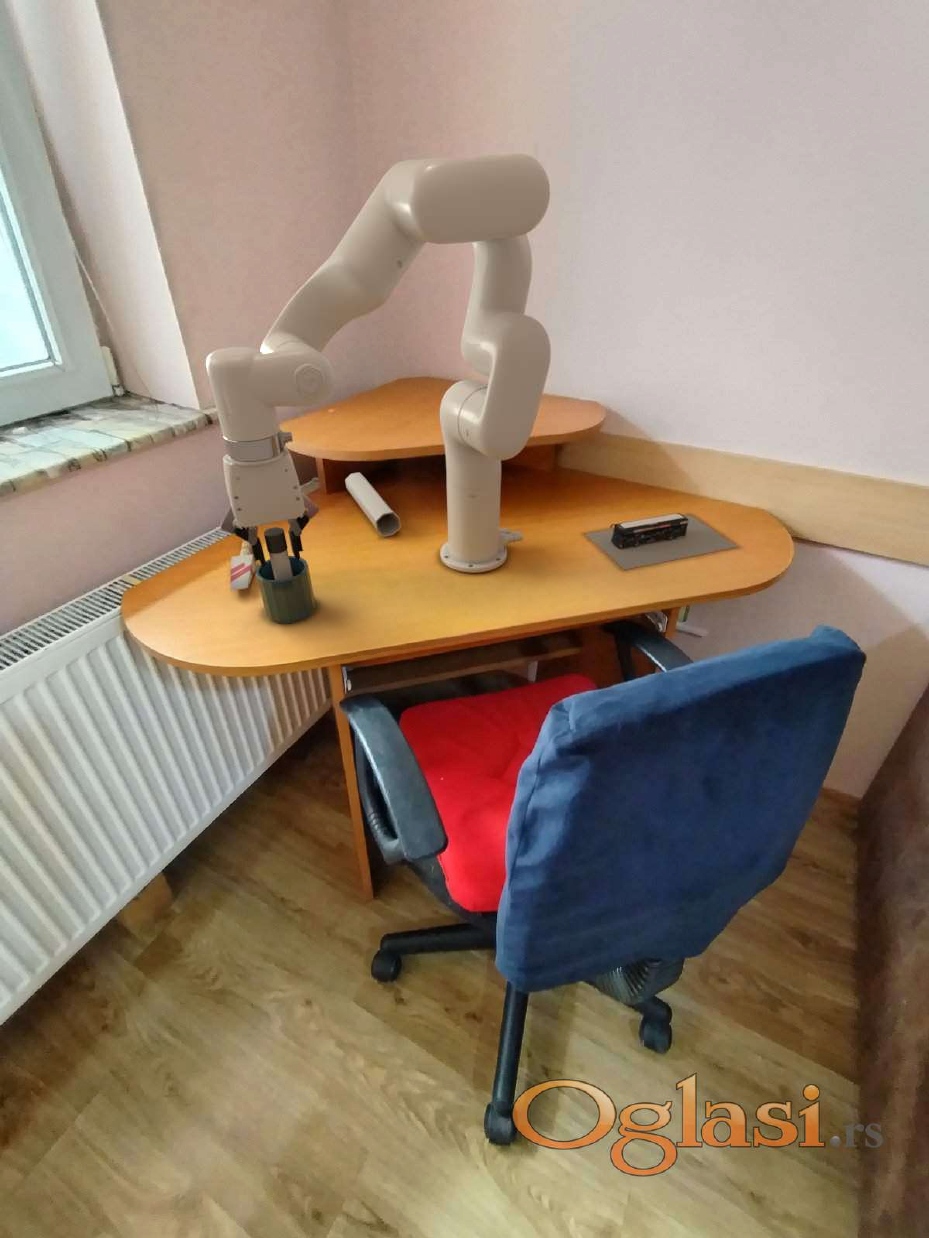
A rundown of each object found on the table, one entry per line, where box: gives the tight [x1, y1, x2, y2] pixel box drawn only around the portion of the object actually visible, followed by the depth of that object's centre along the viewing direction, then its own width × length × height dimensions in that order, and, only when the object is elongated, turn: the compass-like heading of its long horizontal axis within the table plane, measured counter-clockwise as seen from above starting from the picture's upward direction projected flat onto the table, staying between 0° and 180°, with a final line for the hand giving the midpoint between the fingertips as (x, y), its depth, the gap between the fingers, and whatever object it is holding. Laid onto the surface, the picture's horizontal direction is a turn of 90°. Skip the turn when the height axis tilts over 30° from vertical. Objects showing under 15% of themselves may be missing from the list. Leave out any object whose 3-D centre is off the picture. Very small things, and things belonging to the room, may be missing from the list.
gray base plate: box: [585, 512, 738, 570], centre depth 116 cm, size 14×25×4 cm, turn 109°
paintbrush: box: [230, 539, 257, 591], centre depth 109 cm, size 4×3×20 cm
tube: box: [344, 471, 402, 538], centre depth 127 cm, size 5×5×25 cm
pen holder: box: [254, 555, 316, 625], centre depth 97 cm, size 8×8×8 cm
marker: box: [263, 526, 293, 580], centre depth 95 cm, size 3×3×14 cm
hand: (279, 558), depth 93 cm, fingers open, 4 cm apart
